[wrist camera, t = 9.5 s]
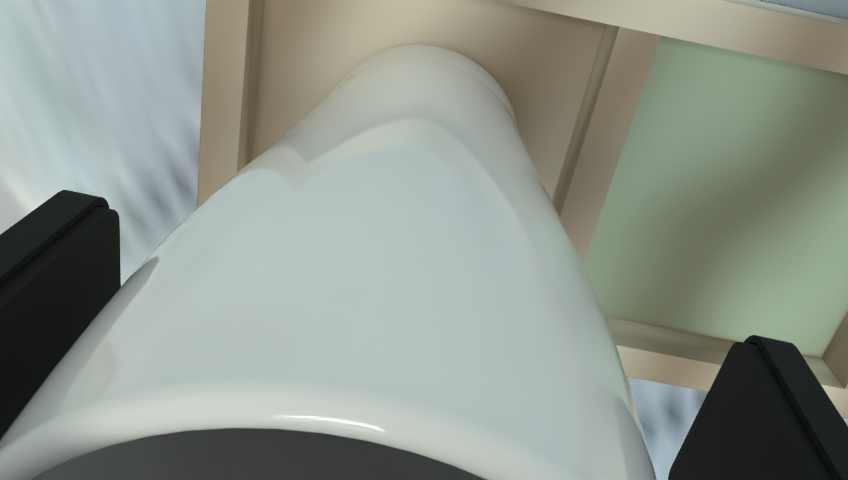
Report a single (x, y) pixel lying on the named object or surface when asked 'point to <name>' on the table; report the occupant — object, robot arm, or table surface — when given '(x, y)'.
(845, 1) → the table surface
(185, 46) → the table surface
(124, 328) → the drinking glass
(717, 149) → the wooden compartment tray
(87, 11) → the table surface
